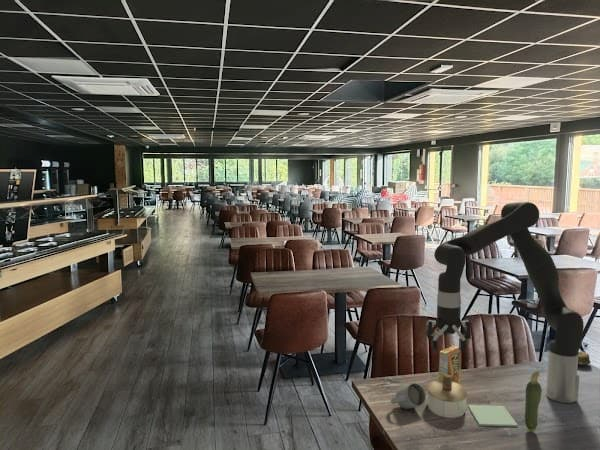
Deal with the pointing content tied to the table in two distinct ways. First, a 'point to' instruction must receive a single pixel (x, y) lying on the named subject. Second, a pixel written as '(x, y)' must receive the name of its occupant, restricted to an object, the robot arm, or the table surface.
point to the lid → (447, 390)
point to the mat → (492, 415)
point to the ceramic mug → (410, 396)
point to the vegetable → (532, 402)
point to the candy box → (450, 363)
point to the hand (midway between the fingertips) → (447, 350)
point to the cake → (583, 358)
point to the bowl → (446, 407)
